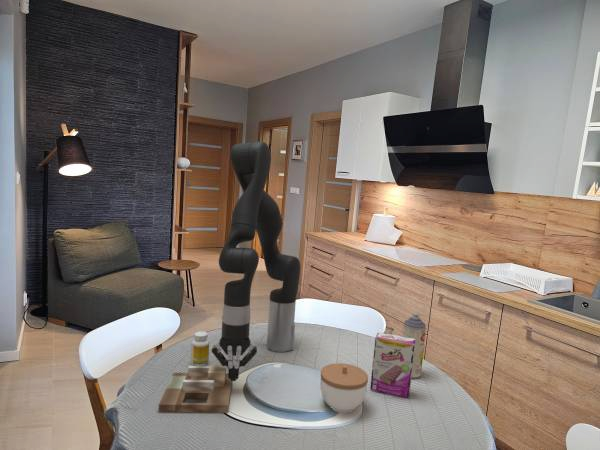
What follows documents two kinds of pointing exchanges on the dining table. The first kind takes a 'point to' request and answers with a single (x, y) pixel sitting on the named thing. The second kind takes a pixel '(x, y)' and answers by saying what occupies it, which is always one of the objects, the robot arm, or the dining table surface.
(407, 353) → the candy bar box
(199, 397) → the channel deck
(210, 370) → the birch block
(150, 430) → the dining table surface
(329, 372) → the lidded bowl
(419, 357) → the aerosol can
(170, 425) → the dining table surface
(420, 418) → the dining table surface
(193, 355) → the supplement bottle
